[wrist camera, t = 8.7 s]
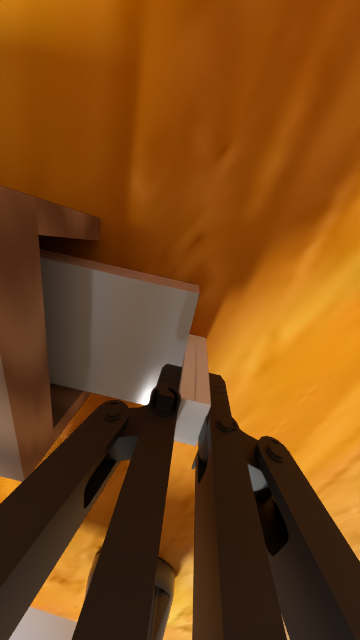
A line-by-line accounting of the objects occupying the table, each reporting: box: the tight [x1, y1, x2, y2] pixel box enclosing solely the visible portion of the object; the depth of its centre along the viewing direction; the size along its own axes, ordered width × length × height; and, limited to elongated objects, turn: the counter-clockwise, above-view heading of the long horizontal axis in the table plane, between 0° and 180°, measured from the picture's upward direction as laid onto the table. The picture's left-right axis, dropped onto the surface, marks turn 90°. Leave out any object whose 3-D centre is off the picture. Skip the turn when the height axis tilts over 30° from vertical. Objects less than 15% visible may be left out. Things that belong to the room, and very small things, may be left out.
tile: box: [39, 249, 199, 405], centre depth 15 cm, size 10×18×3 cm, turn 78°
